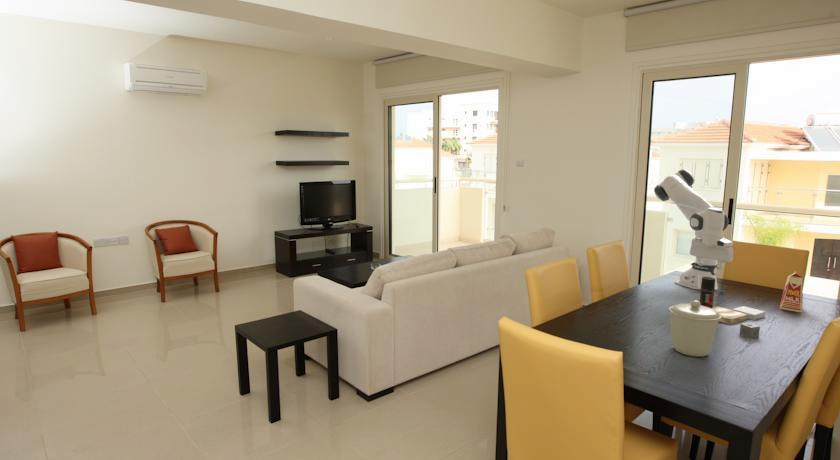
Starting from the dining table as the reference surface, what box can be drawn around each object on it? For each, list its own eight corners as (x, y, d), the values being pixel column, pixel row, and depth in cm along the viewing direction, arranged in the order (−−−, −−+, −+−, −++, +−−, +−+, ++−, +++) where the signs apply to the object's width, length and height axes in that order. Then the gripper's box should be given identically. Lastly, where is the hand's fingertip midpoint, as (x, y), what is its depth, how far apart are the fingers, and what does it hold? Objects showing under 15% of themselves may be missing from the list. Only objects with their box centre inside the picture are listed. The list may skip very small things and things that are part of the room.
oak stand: (701, 315, 242) (701, 310, 241) (717, 311, 249) (717, 305, 248) (731, 324, 230) (731, 318, 229) (747, 319, 237) (747, 314, 236)
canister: (671, 339, 211) (676, 291, 207) (720, 350, 199) (726, 299, 196) (660, 352, 197) (664, 301, 193) (712, 365, 185) (718, 311, 182)
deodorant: (709, 305, 258) (712, 277, 256) (714, 308, 252) (717, 280, 250) (697, 304, 259) (699, 276, 256) (702, 308, 253) (705, 279, 250)
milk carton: (802, 312, 248) (807, 273, 245) (779, 308, 253) (784, 270, 250) (802, 308, 255) (807, 270, 252) (780, 304, 260) (785, 267, 257)
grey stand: (732, 313, 244) (732, 309, 244) (742, 310, 250) (743, 306, 249) (754, 320, 236) (754, 314, 236) (764, 316, 241) (765, 311, 241)
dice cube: (739, 334, 217) (740, 323, 216) (747, 333, 219) (748, 322, 218) (750, 338, 212) (751, 327, 212) (758, 337, 214) (760, 326, 213)
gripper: (688, 237, 257) (686, 263, 260) (729, 244, 240) (726, 272, 242) (695, 236, 260) (693, 262, 263) (736, 243, 243) (733, 270, 245)
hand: (709, 267), depth 252 cm, fingers open, 8 cm apart
